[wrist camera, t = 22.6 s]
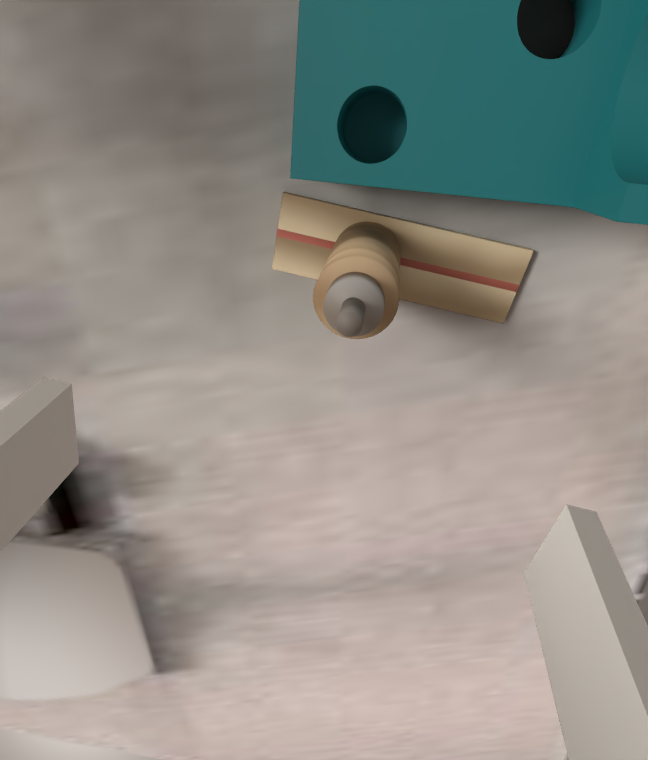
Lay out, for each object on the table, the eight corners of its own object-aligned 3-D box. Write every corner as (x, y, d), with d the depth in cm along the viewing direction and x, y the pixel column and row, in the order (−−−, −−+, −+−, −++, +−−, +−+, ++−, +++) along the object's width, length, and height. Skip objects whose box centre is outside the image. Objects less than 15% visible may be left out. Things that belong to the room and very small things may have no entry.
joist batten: (284, 191, 32) (282, 193, 31) (532, 249, 31) (533, 250, 31) (273, 267, 34) (272, 268, 34) (502, 321, 34) (503, 323, 33)
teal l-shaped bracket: (684, -28, 24) (861, -138, 15) (610, 204, 29) (711, 231, 20) (321, -50, 26) (277, -162, 17) (306, 173, 31) (265, 184, 21)
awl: (340, 214, 31) (311, 268, 22) (408, 230, 31) (409, 292, 22) (327, 279, 34) (295, 355, 24) (390, 294, 34) (383, 376, 24)
